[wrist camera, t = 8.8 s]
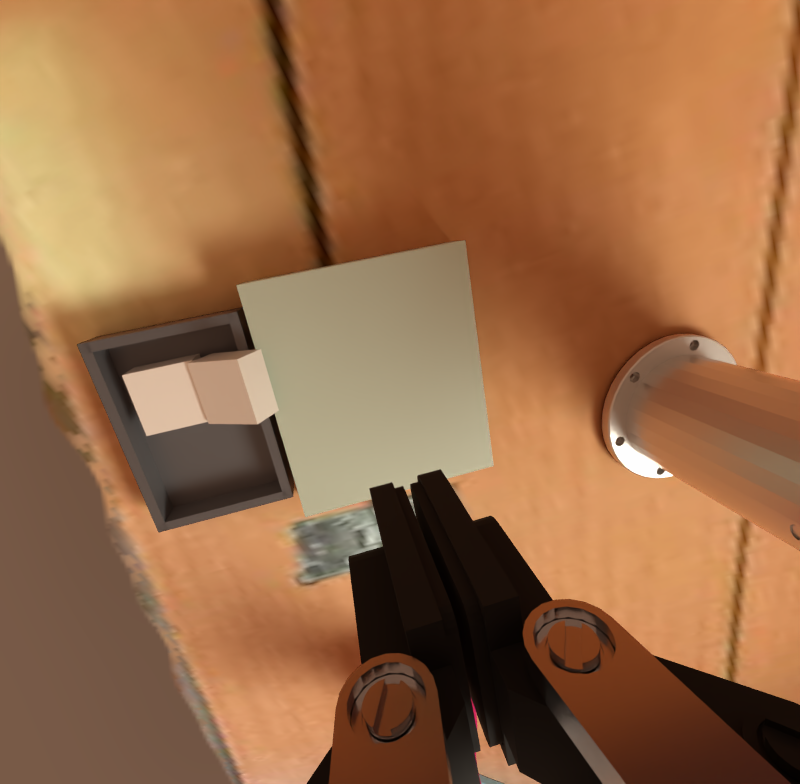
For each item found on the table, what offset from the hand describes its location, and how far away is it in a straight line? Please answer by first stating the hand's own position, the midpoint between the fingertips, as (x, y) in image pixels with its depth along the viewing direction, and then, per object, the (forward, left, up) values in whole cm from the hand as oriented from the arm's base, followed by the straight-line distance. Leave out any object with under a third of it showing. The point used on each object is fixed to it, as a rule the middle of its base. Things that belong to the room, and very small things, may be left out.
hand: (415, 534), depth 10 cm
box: (+6, +9, -22) cm, 24 cm away
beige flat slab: (-3, +1, -22) cm, 22 cm away
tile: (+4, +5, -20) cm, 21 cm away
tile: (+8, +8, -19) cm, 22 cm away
